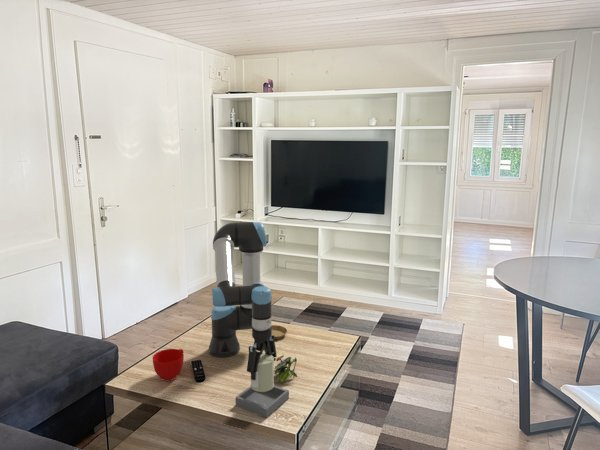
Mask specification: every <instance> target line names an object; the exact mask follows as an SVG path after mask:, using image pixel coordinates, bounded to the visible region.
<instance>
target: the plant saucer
mask: <svg viewBox="0 0 600 450" xmlns="http://www.w3.org/2000/svg"><path fill="white" fill-rule="evenodd" d="M271 328H272V335H274V336H275V340H278V339H282V338H283V337H284V336H286V334H287V332H288V329H287V328H286V327H284V326H282V325H275V324H271Z"/></svg>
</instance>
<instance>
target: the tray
mask: <svg viewBox="0 0 600 450" xmlns="http://www.w3.org/2000/svg"><path fill="white" fill-rule="evenodd" d="M289 396H290V391H289V390H288V389H286V388H282V387H279V386H276V385H274V387H273V388H272V389H271V390H269V391H266V392H258V391H254V390H253V389H252V388H251V385H250V386H249V387H247V388H246V389H245V390H243V391H242V392H240V393H239V394H237V396H235V406H237V407H240V408H242V409H243V410H247V411H248V410H249V412H251V413H254V414H255V415H259V416H260V415H261V417H263V418H265V417H266V418H265V419H268V418H269V417H270V416H271V415H272V414H273V413H274V412H275V411H277V410H278V409H279V408H280V407H281V406H283V404H284V403H285V402H287V401H288V400H289V398H290V397H289ZM270 414H271V415H270Z"/></svg>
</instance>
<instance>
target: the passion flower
mask: <svg viewBox="0 0 600 450" xmlns="http://www.w3.org/2000/svg"><path fill="white" fill-rule="evenodd" d="M284 356H285V355H280V356H279V357H276V360H275V361H276V362H278V361H280V362H279V363H277V364H276V365H275V366H274V375H277V374H278V375H277V379H276V381H277V383H278V384H279V383H283V382H287V381H288V380H289V379H290V378H292V376H293V378H295V377H296V378H297V377H298V375H297V374H296V372H295V370H296V369H295V368H296V364H297V361H298V359H297V357H294V358H293V359H292V356H288V357H286V358H285V359H283V360H282V358H284ZM293 363H294V367H293V369H291V367H292V364H293Z"/></svg>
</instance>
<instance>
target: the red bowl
mask: <svg viewBox="0 0 600 450" xmlns="http://www.w3.org/2000/svg"><path fill="white" fill-rule="evenodd" d="M184 360H185V359H184V349H183V348H179V349H178V348H167V349H163V350H159V351H158V352H156V353H155V354H153V356H152V366H153V369H154V372H155V374H156V375H157V376H158V377H159V378H160V379H163V381H165V380H169V381H172V379H173V380H175V379H176V378H178V376H179V375H180V373H181V372H182V369H183V366H184ZM174 378H175V379H174Z"/></svg>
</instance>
